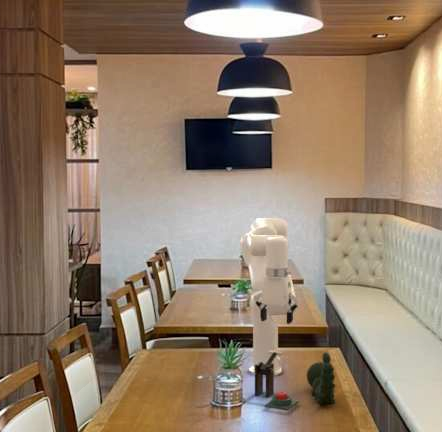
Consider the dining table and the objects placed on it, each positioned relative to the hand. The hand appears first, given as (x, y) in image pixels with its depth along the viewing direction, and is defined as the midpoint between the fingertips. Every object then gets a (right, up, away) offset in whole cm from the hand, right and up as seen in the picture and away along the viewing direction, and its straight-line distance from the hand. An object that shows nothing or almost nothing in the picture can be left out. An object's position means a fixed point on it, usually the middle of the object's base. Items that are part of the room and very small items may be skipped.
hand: (276, 321), depth 231 cm
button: (+1, -22, -17) cm, 28 cm away
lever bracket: (-4, -25, -8) cm, 26 cm away
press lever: (-2, -14, -4) cm, 15 cm away
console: (+1, -25, -17) cm, 30 cm away
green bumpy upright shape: (+15, -25, -8) cm, 30 cm away
